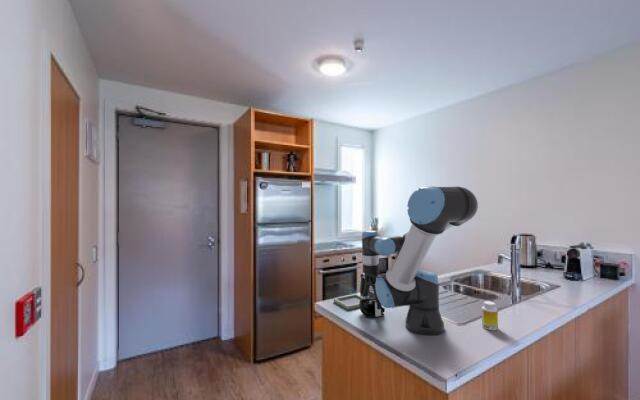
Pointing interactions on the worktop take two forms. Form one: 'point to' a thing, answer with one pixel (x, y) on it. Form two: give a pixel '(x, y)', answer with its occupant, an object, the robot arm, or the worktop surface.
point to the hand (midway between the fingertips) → (372, 312)
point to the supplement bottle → (489, 316)
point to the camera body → (370, 293)
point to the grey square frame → (349, 301)
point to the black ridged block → (369, 307)
